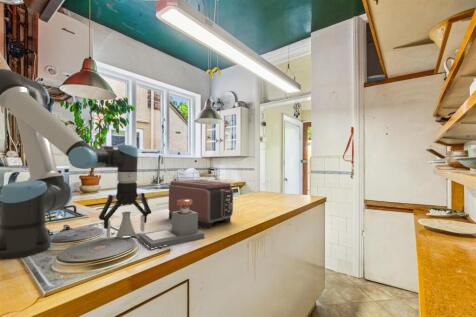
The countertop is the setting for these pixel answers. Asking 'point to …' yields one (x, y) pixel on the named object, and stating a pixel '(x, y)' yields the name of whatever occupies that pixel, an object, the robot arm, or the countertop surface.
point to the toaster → (203, 200)
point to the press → (175, 231)
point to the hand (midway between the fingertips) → (125, 233)
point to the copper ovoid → (184, 205)
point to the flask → (126, 226)
